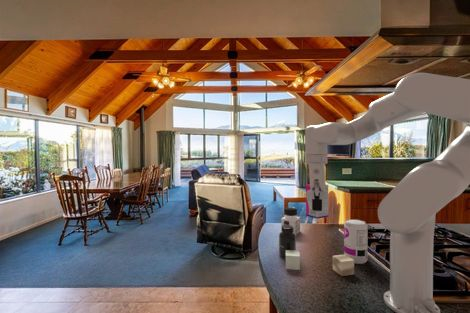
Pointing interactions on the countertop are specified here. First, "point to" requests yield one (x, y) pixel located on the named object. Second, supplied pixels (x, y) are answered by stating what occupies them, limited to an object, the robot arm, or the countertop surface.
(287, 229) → the supplement bottle
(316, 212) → the supplement box
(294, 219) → the container
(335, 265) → the birch block
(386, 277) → the countertop surface
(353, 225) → the supplement can
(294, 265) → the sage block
